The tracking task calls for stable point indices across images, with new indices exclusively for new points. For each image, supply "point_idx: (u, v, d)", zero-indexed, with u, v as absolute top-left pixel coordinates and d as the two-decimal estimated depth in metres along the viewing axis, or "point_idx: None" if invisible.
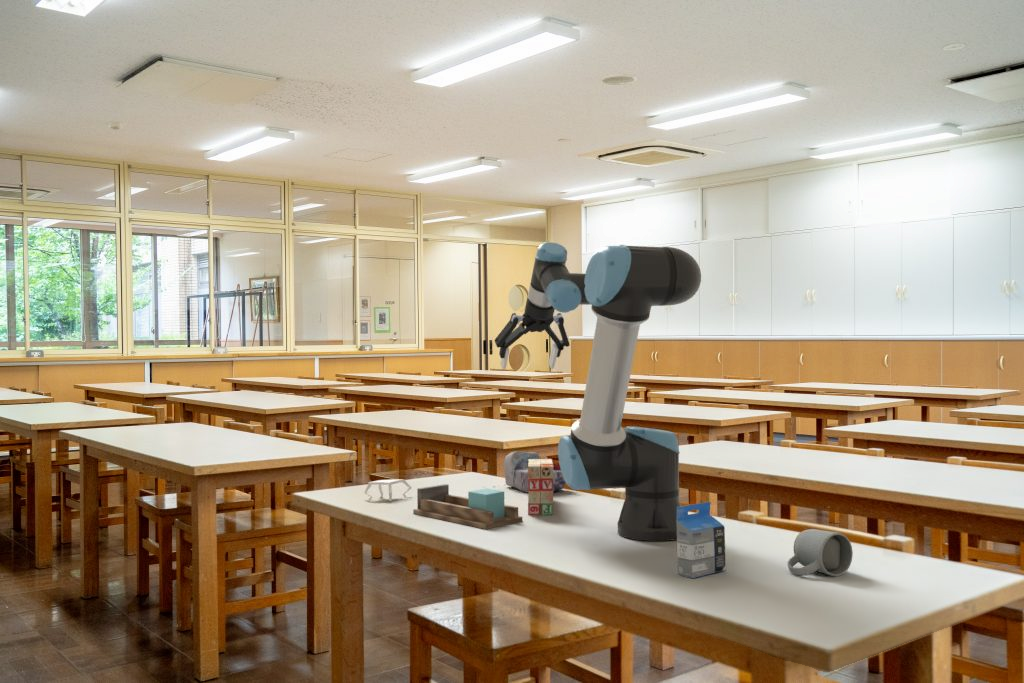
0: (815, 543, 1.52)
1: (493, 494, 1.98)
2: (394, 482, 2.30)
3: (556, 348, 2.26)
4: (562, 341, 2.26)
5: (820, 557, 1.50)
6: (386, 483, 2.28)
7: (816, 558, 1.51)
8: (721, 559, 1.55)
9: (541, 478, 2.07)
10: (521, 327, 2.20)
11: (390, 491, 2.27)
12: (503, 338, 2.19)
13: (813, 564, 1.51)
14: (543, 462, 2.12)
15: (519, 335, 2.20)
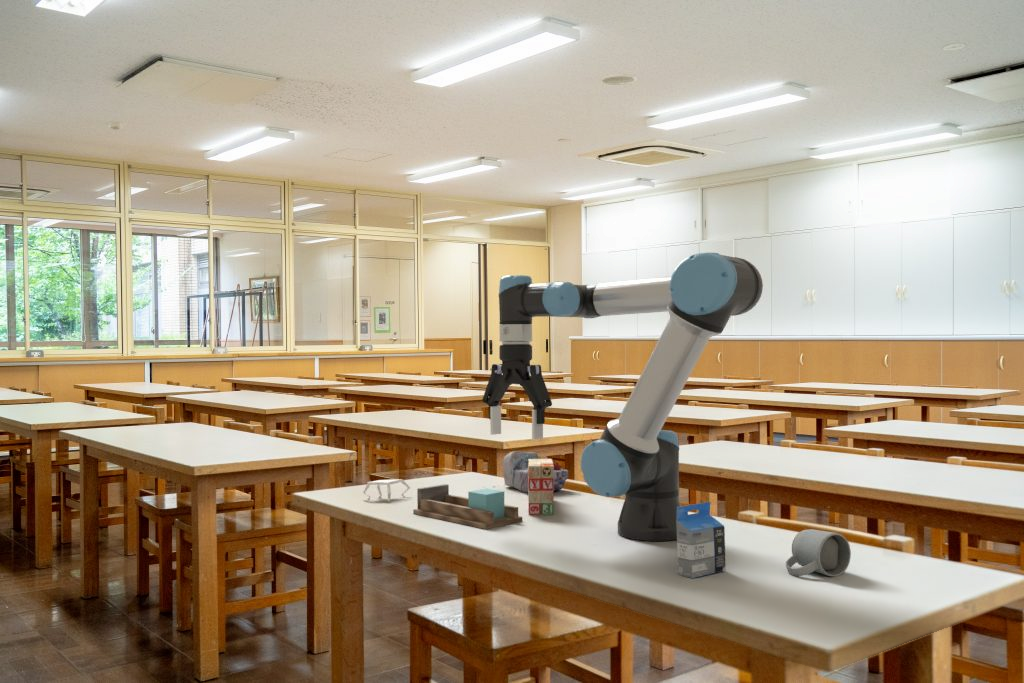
0: (813, 544, 1.52)
1: (493, 494, 1.98)
2: (393, 482, 2.30)
3: (498, 406, 1.99)
4: None
5: (818, 557, 1.50)
6: (385, 483, 2.28)
7: (814, 558, 1.51)
8: (721, 559, 1.55)
9: (542, 478, 2.07)
10: (527, 381, 1.91)
11: (389, 491, 2.26)
12: None
13: (811, 564, 1.51)
14: (543, 462, 2.13)
15: None
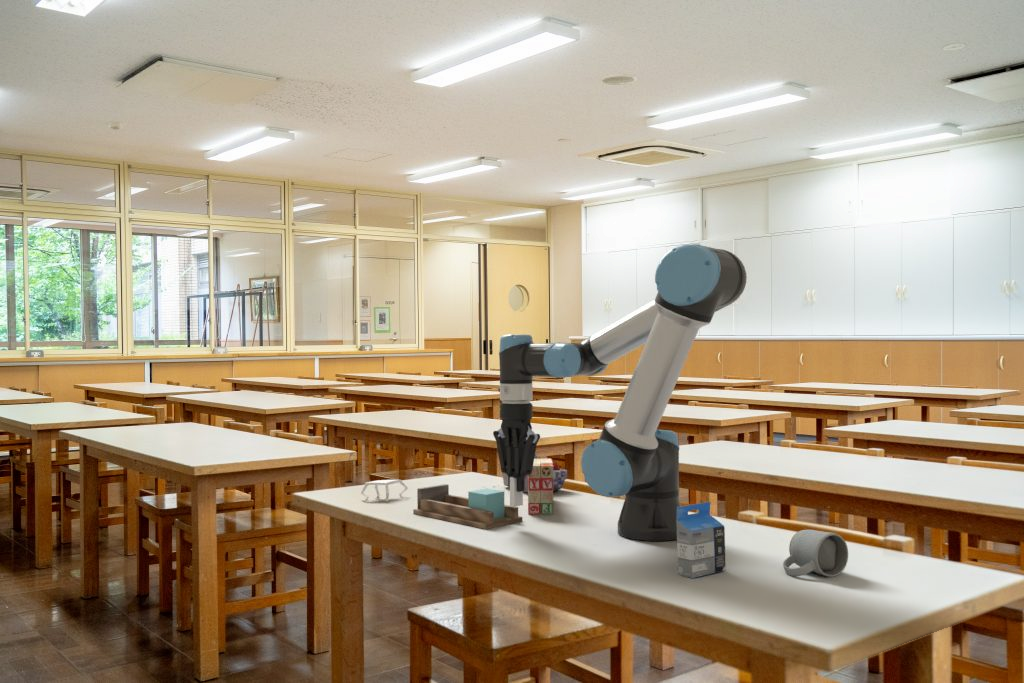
0: (810, 544, 1.52)
1: (493, 494, 1.98)
2: (391, 482, 2.30)
3: None
4: None
5: (816, 558, 1.50)
6: (383, 483, 2.28)
7: (812, 559, 1.51)
8: (721, 559, 1.55)
9: (541, 478, 2.08)
10: (521, 445, 1.92)
11: (387, 491, 2.26)
12: None
13: (809, 564, 1.50)
14: (543, 462, 2.13)
15: None
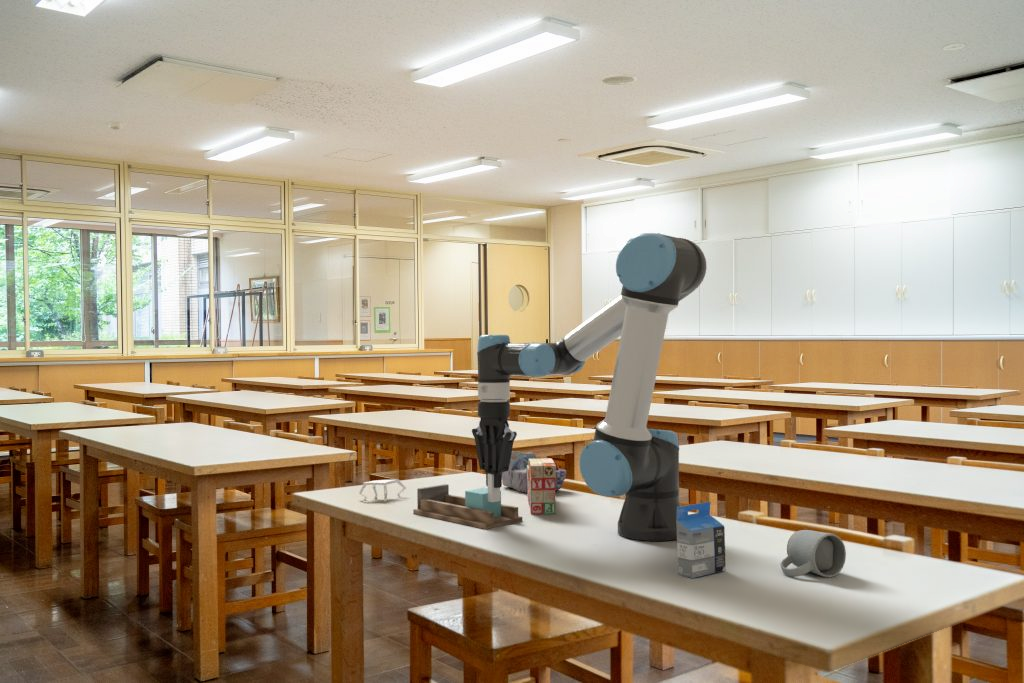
0: (808, 544, 1.51)
1: None
2: (389, 482, 2.30)
3: None
4: None
5: (813, 558, 1.50)
6: (381, 483, 2.28)
7: (809, 559, 1.50)
8: (721, 559, 1.55)
9: (544, 478, 2.08)
10: (499, 442, 1.97)
11: (385, 491, 2.26)
12: None
13: (806, 565, 1.50)
14: (545, 461, 2.13)
15: None
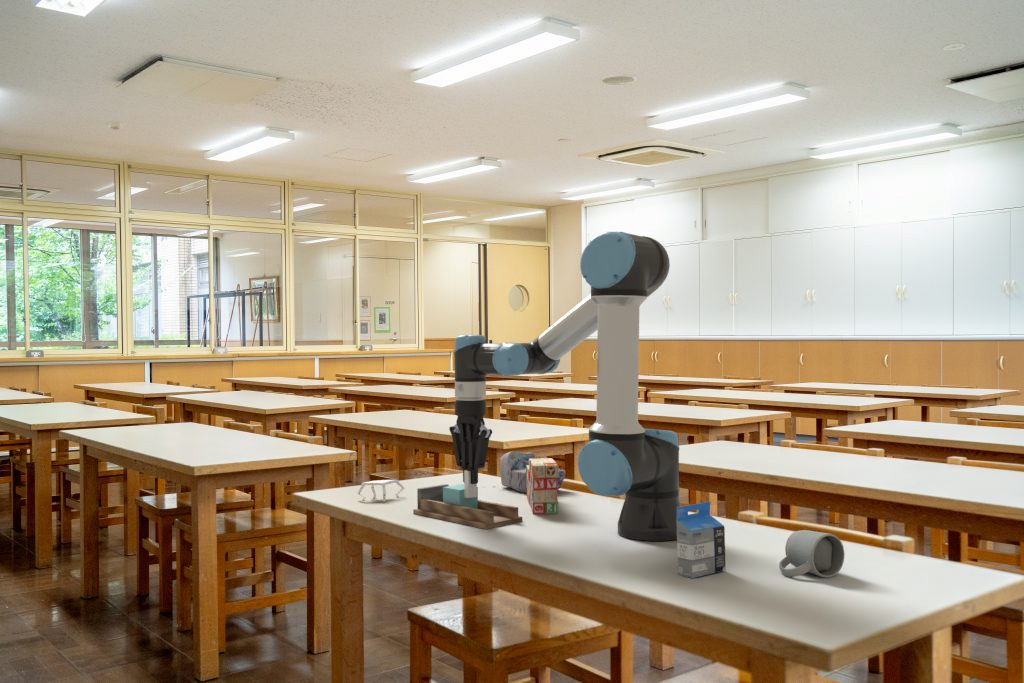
0: (806, 544, 1.51)
1: None
2: (387, 482, 2.29)
3: None
4: None
5: (811, 558, 1.49)
6: (380, 483, 2.28)
7: (807, 559, 1.50)
8: (721, 559, 1.55)
9: (546, 478, 2.08)
10: (475, 440, 2.03)
11: (384, 491, 2.26)
12: None
13: (805, 565, 1.50)
14: (546, 461, 2.14)
15: None
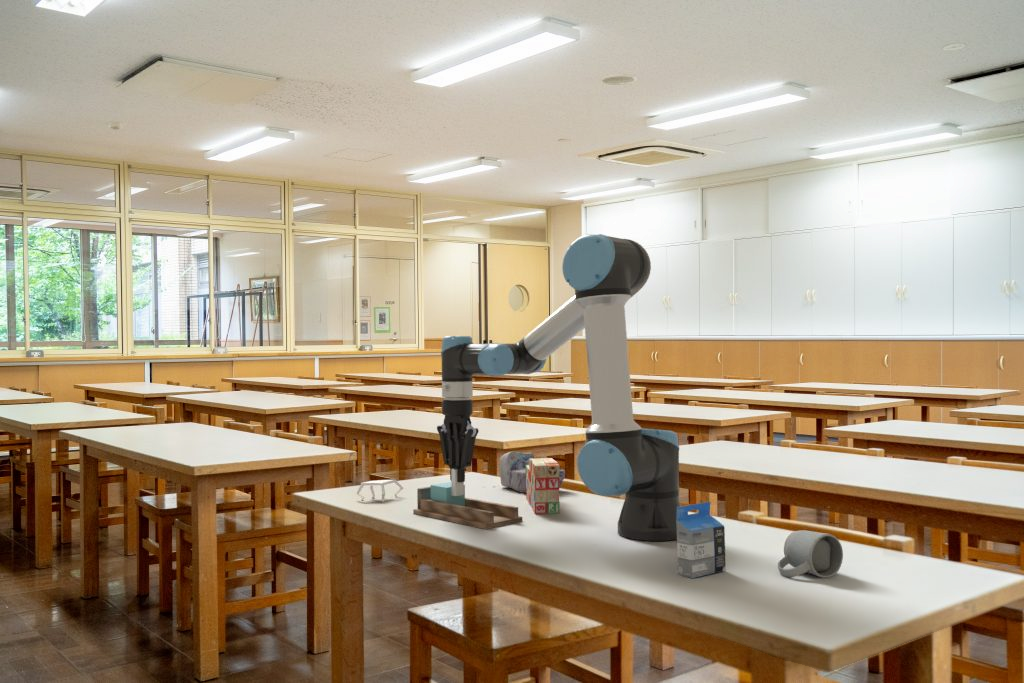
0: (805, 545, 1.51)
1: None
2: (386, 483, 2.29)
3: None
4: None
5: (810, 558, 1.49)
6: (379, 484, 2.28)
7: (806, 559, 1.50)
8: (721, 559, 1.55)
9: (548, 477, 2.09)
10: (462, 439, 2.06)
11: (383, 492, 2.26)
12: None
13: (803, 565, 1.50)
14: (547, 461, 2.14)
15: None
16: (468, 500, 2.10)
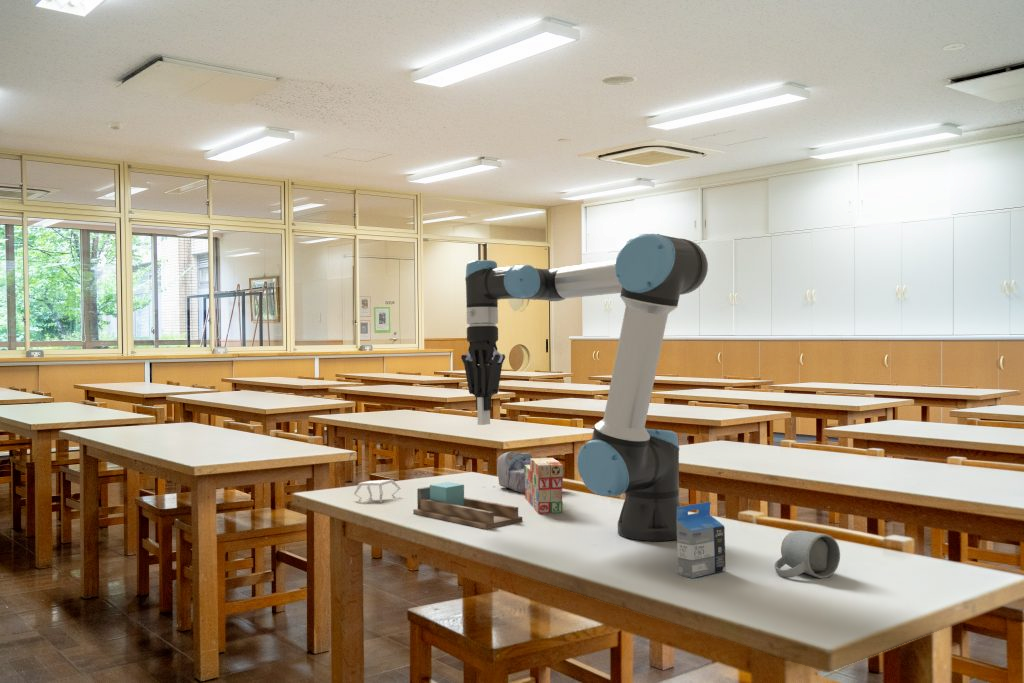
0: (802, 545, 1.51)
1: (453, 487, 2.08)
2: (384, 483, 2.29)
3: None
4: None
5: (807, 559, 1.49)
6: (376, 484, 2.27)
7: (803, 560, 1.50)
8: (721, 559, 1.55)
9: (551, 477, 2.09)
10: (488, 366, 2.01)
11: (381, 492, 2.26)
12: None
13: (800, 566, 1.50)
14: (549, 461, 2.15)
15: None
16: (468, 500, 2.10)
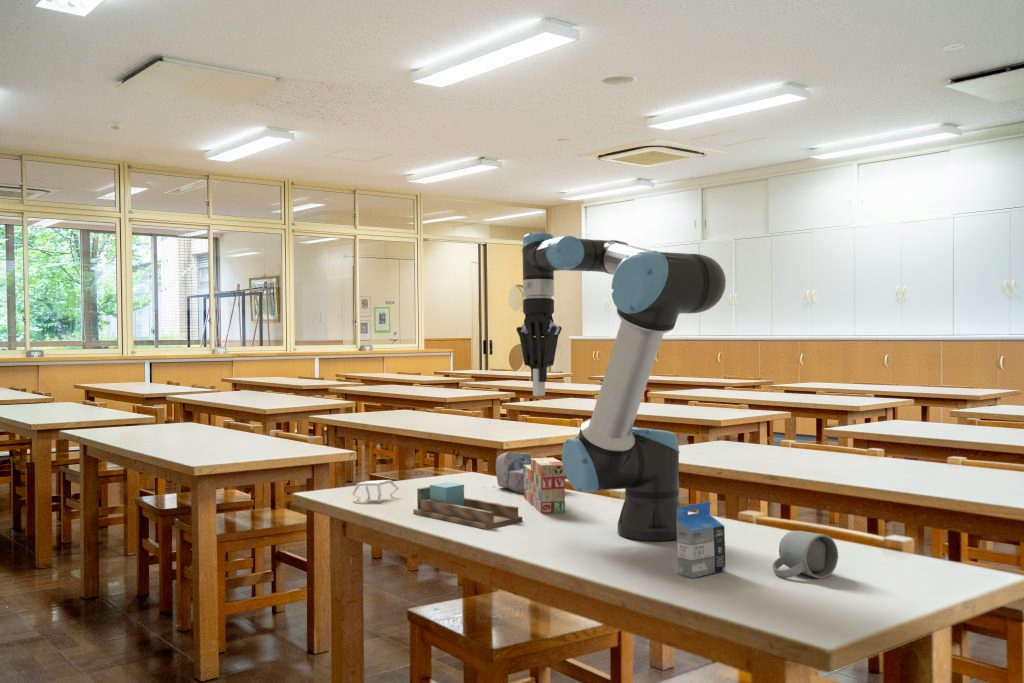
0: (800, 545, 1.51)
1: (453, 487, 2.08)
2: (382, 483, 2.29)
3: None
4: None
5: (805, 559, 1.49)
6: (375, 484, 2.27)
7: (801, 560, 1.50)
8: (721, 559, 1.55)
9: (554, 477, 2.10)
10: (544, 338, 2.03)
11: (379, 492, 2.25)
12: None
13: (798, 566, 1.49)
14: (551, 461, 2.15)
15: None
16: (468, 500, 2.10)
